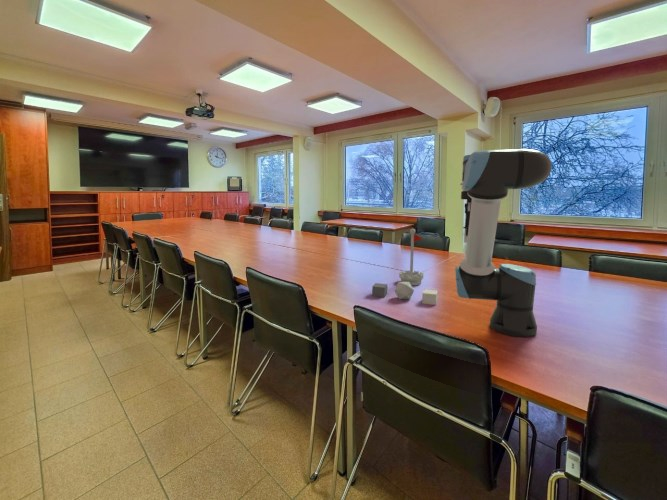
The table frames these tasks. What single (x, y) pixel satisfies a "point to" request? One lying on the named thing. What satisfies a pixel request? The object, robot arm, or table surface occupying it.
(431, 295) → the off-white block
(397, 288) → the die
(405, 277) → the flag stand
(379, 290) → the charcoal block
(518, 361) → the table surface
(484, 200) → the robot arm
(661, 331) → the table surface
